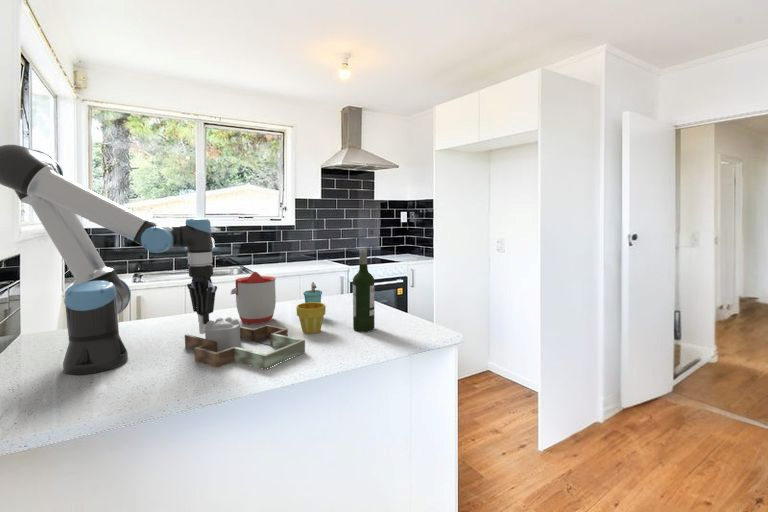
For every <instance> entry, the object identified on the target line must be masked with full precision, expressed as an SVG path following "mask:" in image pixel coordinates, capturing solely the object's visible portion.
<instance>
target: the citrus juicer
mask: <svg viewBox="0 0 768 512" xmlns="http://www.w3.org/2000/svg"><path fill="white" fill-rule="evenodd" d="M230 295H231V296H233V295H235V302H236V304H235V305H236V310H237V314H238V315H239V316H238V317H239V319H240V321H241V322H242V323H243V324H247V325H252V324H253V325H255V324H256V325H257V324H263V323H268V322H270V321H271V320H272V319H273V318H274V314H275V309H276V303H277V302H276V300H277V299H276V297H277V296H276V277H274V276H269V275H268V276H266V275H263V276H262V275H260V273H259V272H257V271H253V273H251V274H250V276H244V277H243V276H242V277H239V278H236V279H235V287H234V288H232V289H231V290H230Z"/></svg>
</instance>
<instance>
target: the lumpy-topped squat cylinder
mask: <svg viewBox="0 0 768 512" xmlns="http://www.w3.org/2000/svg"><path fill="white" fill-rule="evenodd" d="M240 326H241V322H240V321H239V319H238V318H233V319H232V317H231V316H227V317H226V318H222V317H218V318H216V319H215V320H209V321H208V322H207V325H206V327H205V333H204V336H205V338H204V339H208V340H212V341H216V342H217V349H218V352H220V351H223V350H226V349H229V348H231V347H234V346H235V347H239V348H241V347H240V346H241V343H242V341H241V340H242V339H240Z"/></svg>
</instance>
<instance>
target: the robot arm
mask: <svg viewBox="0 0 768 512" xmlns="http://www.w3.org/2000/svg"><path fill="white" fill-rule="evenodd" d="M0 185H2V186H4V187H6V188H9V189H12V190H14V193H15V194H16V195H17V197H18V199H19V200H20V202H21V203H24V204H27V205H29V206H31V208H32V209H33V211H34V213H35V215H36V216H37V218H38V220H39V221H40V222H41V225H42V226H43V228H44V230H45V231H46V232H47V235H48V236H49V238H50V240H51V241H52V243H53V244H54V247H55V248H56V250H57V251H58V253H59V255H60V256H61V259H63V262H64V263H65V264H66V266H67V268H68V270H69V271H70V272H71V275H72V276H73V278H74V280H73V283H72V285H71V286H69V287H68V288H66V290H65V292H64V302H63V303H64V305H65V316H66V325H67V335H68V345H67V348H66V352H65V354H64V357H63V361H62V366H63V367H62V370H63V372H64V373H65V374H68V375H88V374H95V373H100V372H105V371H108V370H113V369H115V368H117V367H119V366H122V365H124V364H126V362H127V361H128V360H129V355H128V354H129V353H128V350H127V348H126V345H125V344H124V342H123V339H122V337H121V336H120V331H119V318H118V315H119V314H121V313H122V312H123V311H124V310H125V309H126V308H127V307H128V306H129V303H130V301H131V296H132V294H131V293H132V291H131V289H130V286H129V285H128V284H127V283H126V282H125V281H124V280H122V279H121V278H120V277H119V275H118V274H117V272H116V270H115V268H112V267H108V266H106V264H105V262H104V261H103V258H102V257H101V255H100V254H99V252H98V250H97V249H96V247H95V245H94V242H92V240H91V238H90V236H89V234H88V233H87V231H86V229H85V228H84V226H83V223H82V222H81V220H80V219H79V217H81V218H83V219H86V220H88V221H90V222H92V223H94V224H96V225H98V226H101V227H103V228H104V229H107V230H110V231H111V232H113V233H115V234H117V235H120V236H122V237H123V238H126V239H128V240H130V241H133V242H135V243H136V244H138V245H140V246H143V248H144V249H145V250H146V251H147V252H150V253H153V254H160V253H164V252H166V251H168V250H169V249H172V248H173V249H178V248H186V249H187V264H188V277H190V278H191V281H190V283H187V284H186V287H187V289H188V291H189V295H190V296H189V297H190V301H191V305H192V310H193V312H194V313H196V315H197V316H198V317H197V318H198V321H197V322H198V331H199V335H200V334H201V335H205V327H206V325H207V322H208V321H210V314H212V313H214V308H215V300H216V299H215V298H216V292H217V290H218V286H217V285H213V283H212V282H213V281H212V279H211V277H212V276H213V275H214V265H213V242H212V241H213V240H212V229H211V228H212V226H211V220H209V219H207V218H187V219H186V220H185V224H158V223H156V222H154V221H153V220H150V219H148V218H146V217H144V216H142V215H140V214H138V213H137V212H134V211H132V210H131V209H129V208H126V207H125V206H122V205H120V204H119V203H116V202H115V201H112V200H110V199H109V198H106V197H105V196H103V195H100V194H98V193H96V192H95V191H93V190H90V189H88V188H86V187H85V186H82V185H81V184H79V183H76V182H75V181H73V180H71V179H69V178H67V177H64V173H63V169H62V167H61V165H60V163H59V162H58V161H57V160H56V159H55V158H53V157H52V156H50V155H49V154H47V153H45V152H44V151H40V150H36V149H31V148H28V147H25V146H22V145H18V144H4V145H0ZM78 216H79V217H78Z"/></svg>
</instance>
